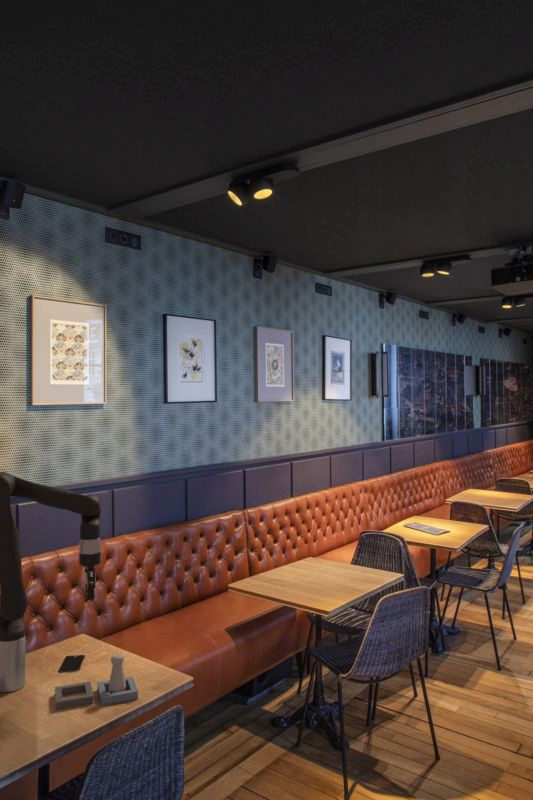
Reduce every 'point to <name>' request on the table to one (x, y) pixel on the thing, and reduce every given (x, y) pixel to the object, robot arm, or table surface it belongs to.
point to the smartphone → (71, 663)
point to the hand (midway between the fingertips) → (89, 596)
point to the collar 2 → (118, 696)
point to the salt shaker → (117, 674)
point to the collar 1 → (75, 700)
